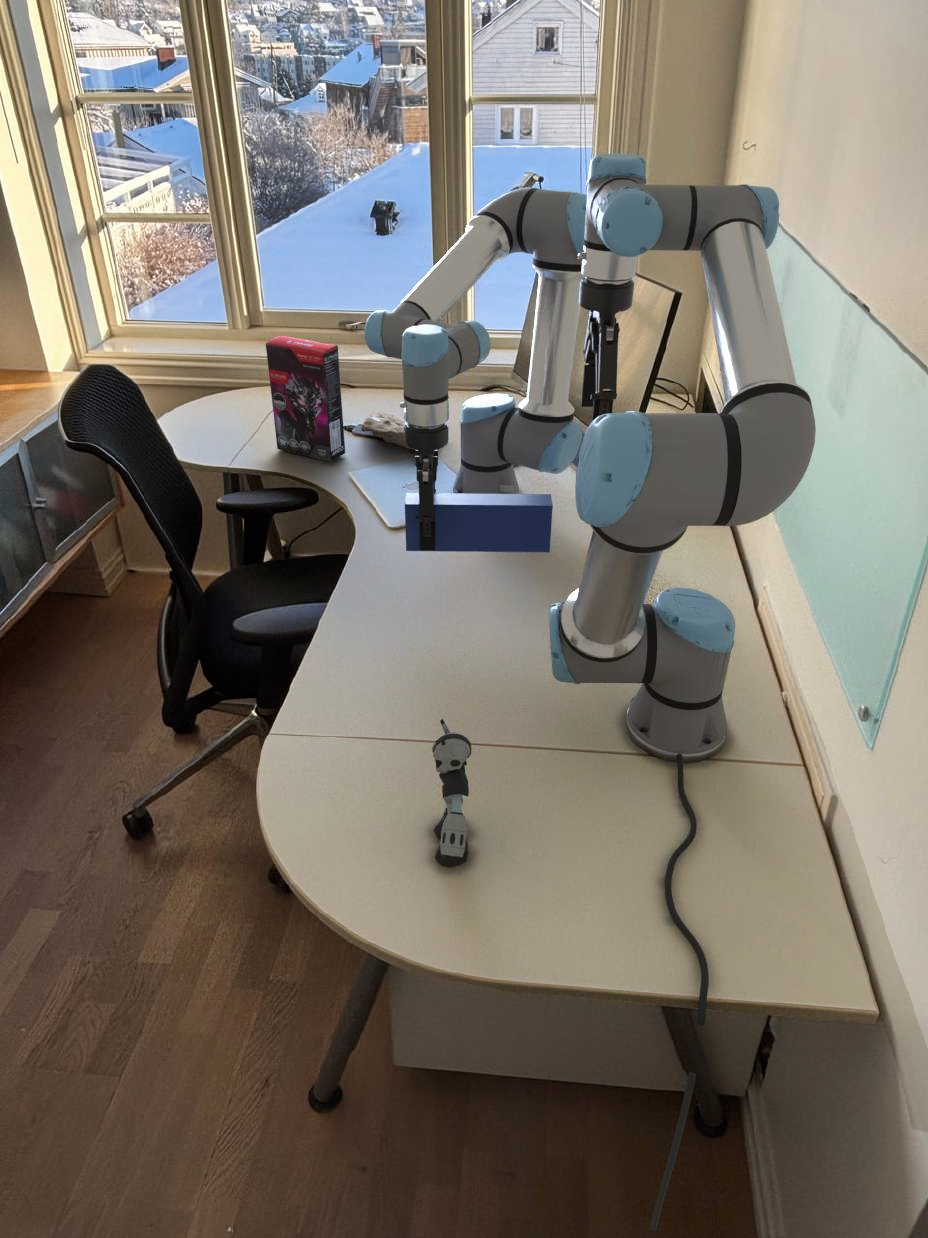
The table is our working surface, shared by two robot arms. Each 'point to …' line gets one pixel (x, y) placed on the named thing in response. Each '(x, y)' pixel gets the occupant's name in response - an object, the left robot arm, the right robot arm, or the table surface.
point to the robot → (452, 796)
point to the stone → (386, 428)
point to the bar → (484, 522)
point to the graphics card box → (306, 397)
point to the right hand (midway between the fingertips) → (594, 422)
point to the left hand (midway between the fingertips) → (428, 542)
